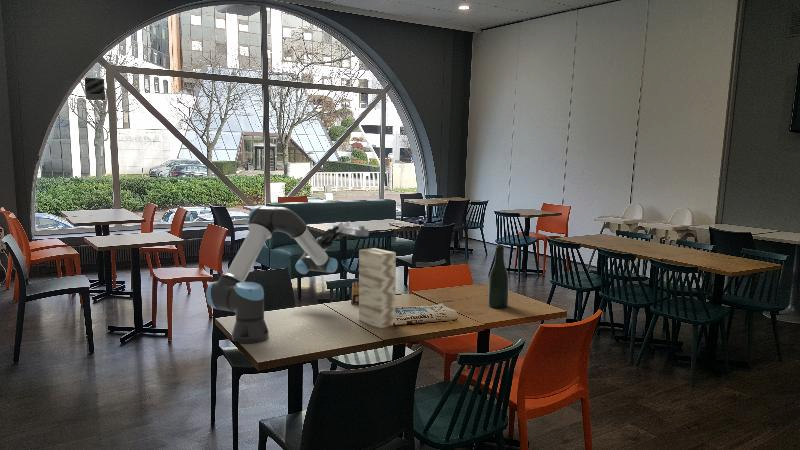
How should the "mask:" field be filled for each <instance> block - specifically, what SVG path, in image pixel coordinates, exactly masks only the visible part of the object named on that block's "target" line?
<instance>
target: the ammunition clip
mask: <svg viewBox="0 0 800 450" xmlns="http://www.w3.org/2000/svg"><path fill="white" fill-rule="evenodd" d="M350 304H351V305H359V282H357V281H353V282H352V283H351V299H350Z"/></svg>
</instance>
